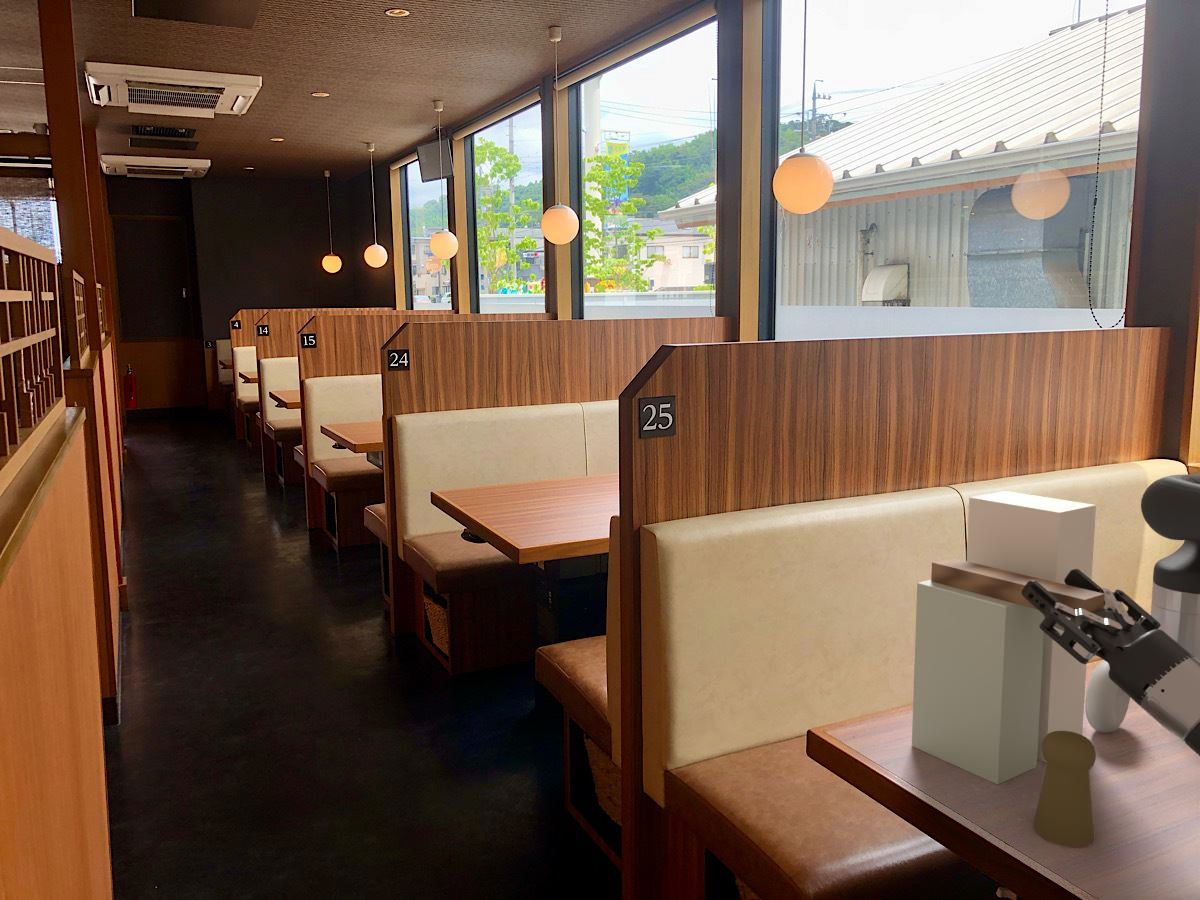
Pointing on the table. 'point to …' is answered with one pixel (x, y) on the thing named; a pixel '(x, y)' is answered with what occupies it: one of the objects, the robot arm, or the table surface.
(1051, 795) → the cork
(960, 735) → the stand
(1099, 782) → the table surface
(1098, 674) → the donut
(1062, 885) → the table surface
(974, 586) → the slat
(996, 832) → the table surface
